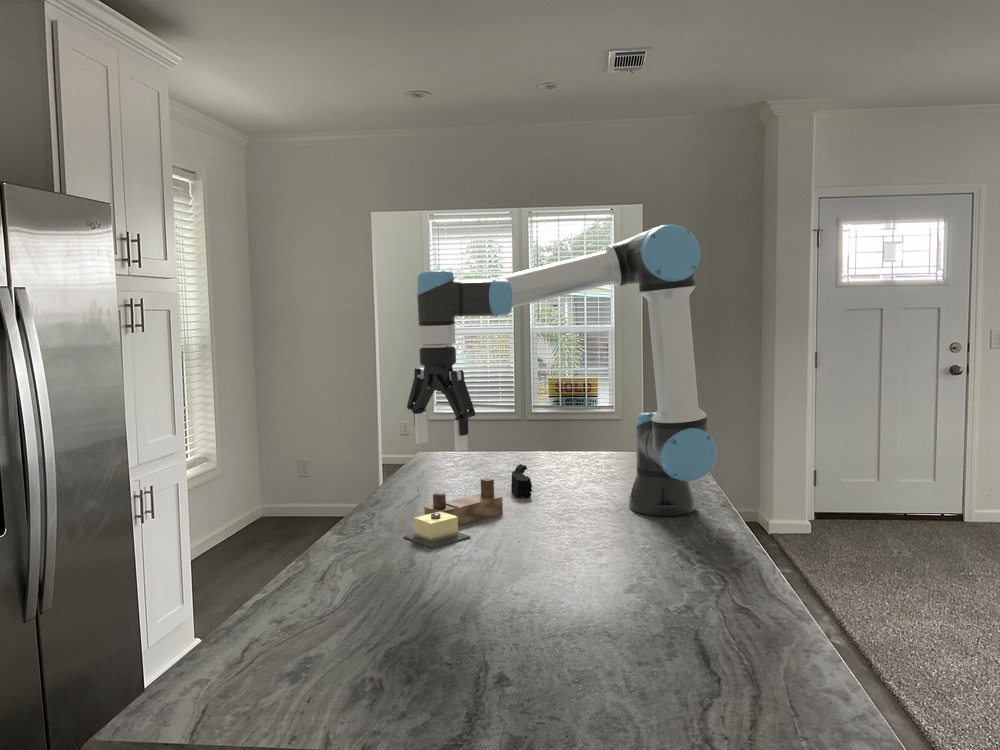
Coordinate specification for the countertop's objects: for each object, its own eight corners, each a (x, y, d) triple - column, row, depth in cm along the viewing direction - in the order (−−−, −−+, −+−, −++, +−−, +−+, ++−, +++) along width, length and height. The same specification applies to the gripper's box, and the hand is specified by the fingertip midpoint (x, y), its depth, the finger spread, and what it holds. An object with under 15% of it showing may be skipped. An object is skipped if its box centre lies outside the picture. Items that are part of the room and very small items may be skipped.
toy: (532, 499, 186) (532, 473, 186) (512, 499, 186) (512, 473, 185) (527, 485, 202) (527, 461, 201) (509, 486, 201) (508, 461, 201)
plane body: (486, 508, 178) (485, 475, 177) (502, 513, 173) (502, 480, 172) (424, 524, 166) (423, 489, 165) (440, 529, 161) (440, 493, 161)
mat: (470, 538, 155) (470, 536, 155) (431, 548, 149) (431, 546, 149) (441, 527, 163) (441, 526, 163) (403, 537, 156) (403, 535, 156)
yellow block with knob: (441, 529, 160) (440, 508, 160) (458, 535, 156) (457, 514, 155) (414, 536, 156) (413, 514, 155) (431, 542, 151) (430, 520, 151)
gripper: (490, 346, 147) (493, 451, 149) (417, 343, 165) (420, 437, 167) (461, 348, 142) (464, 457, 144) (388, 345, 160) (392, 442, 162)
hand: (441, 447), depth 156 cm, fingers open, 13 cm apart
